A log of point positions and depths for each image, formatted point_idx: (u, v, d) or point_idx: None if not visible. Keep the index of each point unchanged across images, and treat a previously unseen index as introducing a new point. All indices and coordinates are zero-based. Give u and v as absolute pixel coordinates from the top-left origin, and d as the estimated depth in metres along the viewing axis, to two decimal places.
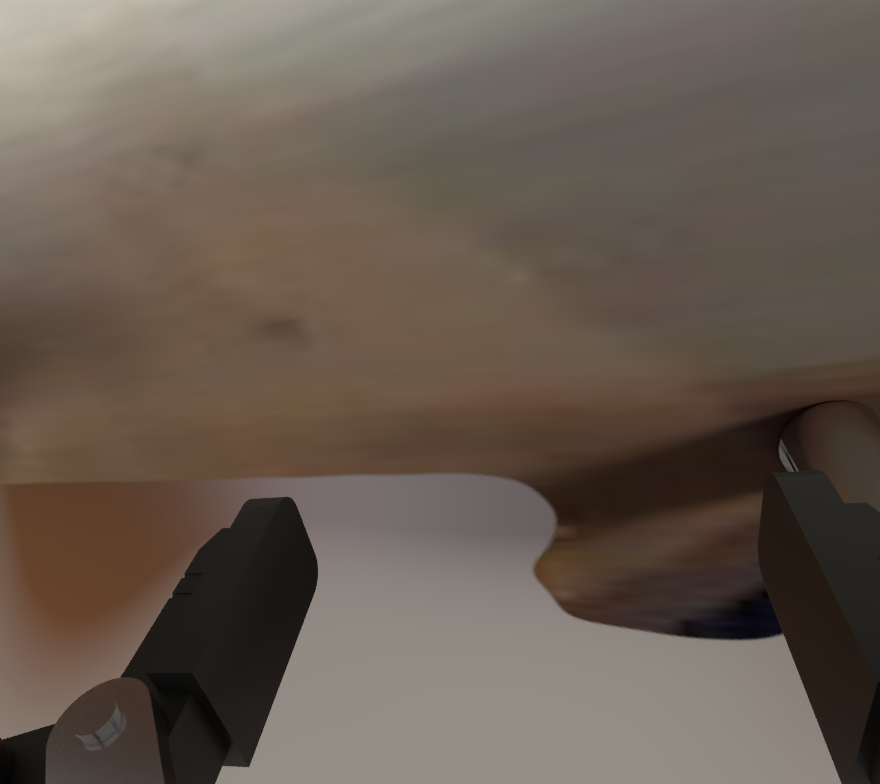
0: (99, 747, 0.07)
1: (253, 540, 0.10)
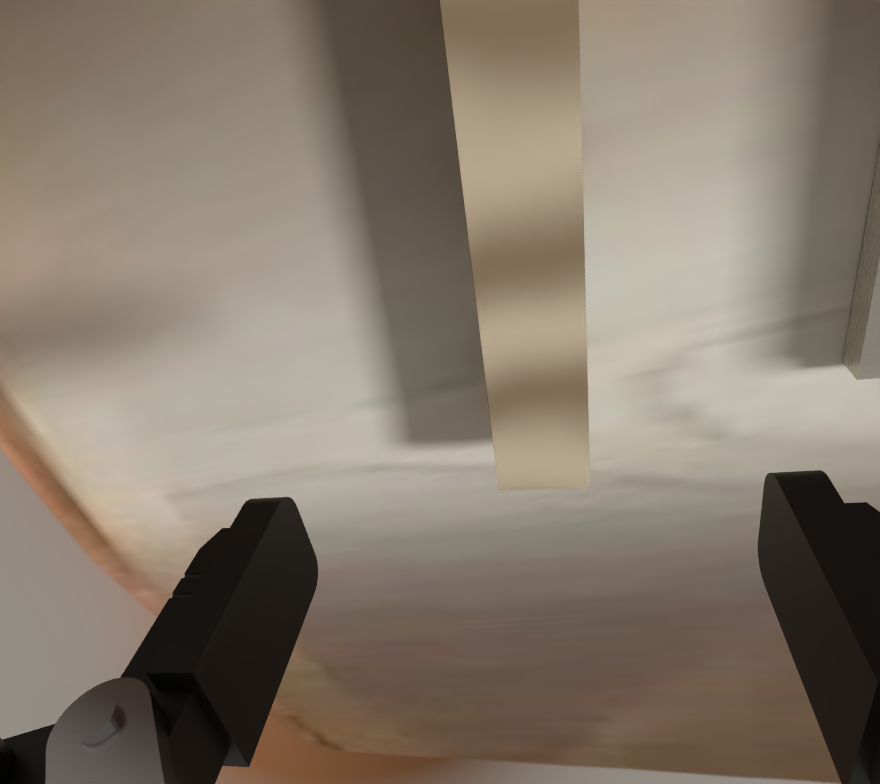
0: (99, 747, 0.07)
1: (253, 540, 0.10)
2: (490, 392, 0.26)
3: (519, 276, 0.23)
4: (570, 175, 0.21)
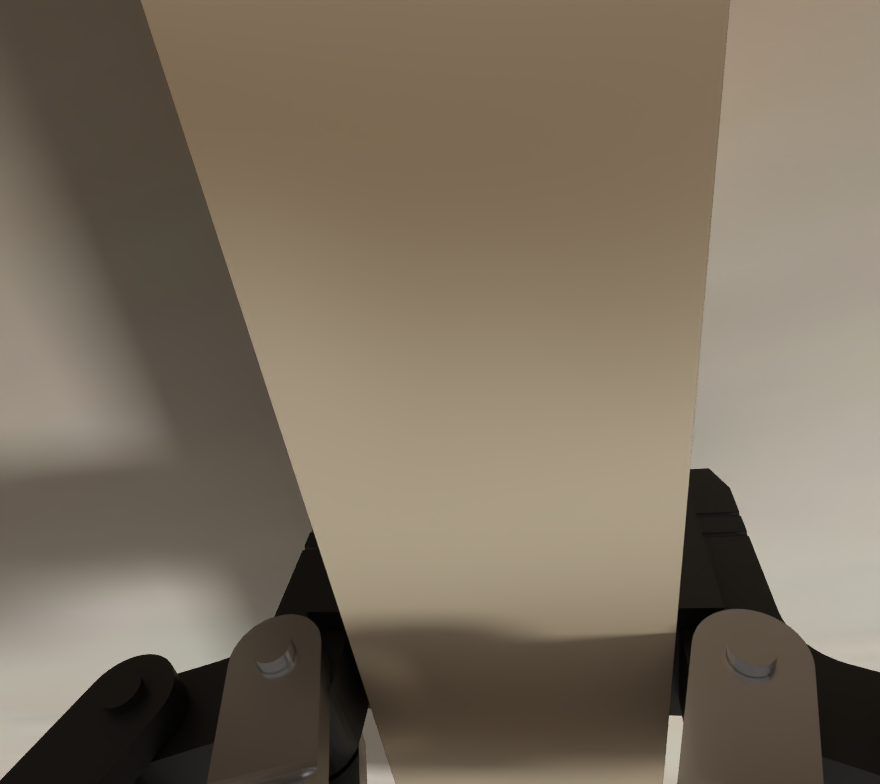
0: (282, 675, 0.08)
1: None
2: None
3: (491, 734, 0.09)
4: (644, 564, 0.07)
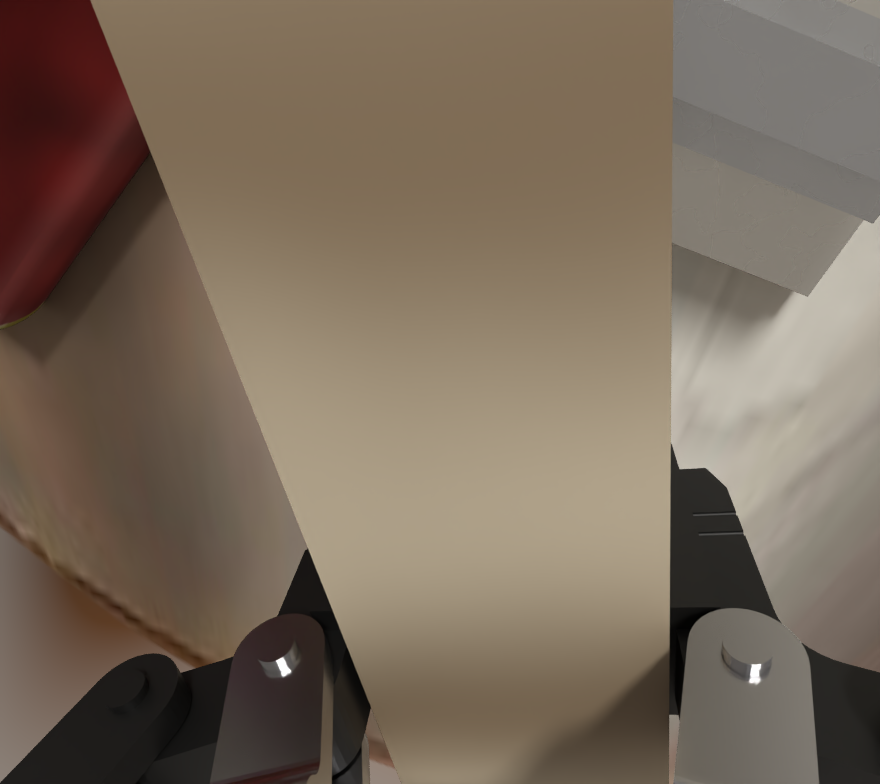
0: (286, 674, 0.08)
1: None
2: None
3: (494, 735, 0.09)
4: (632, 561, 0.07)
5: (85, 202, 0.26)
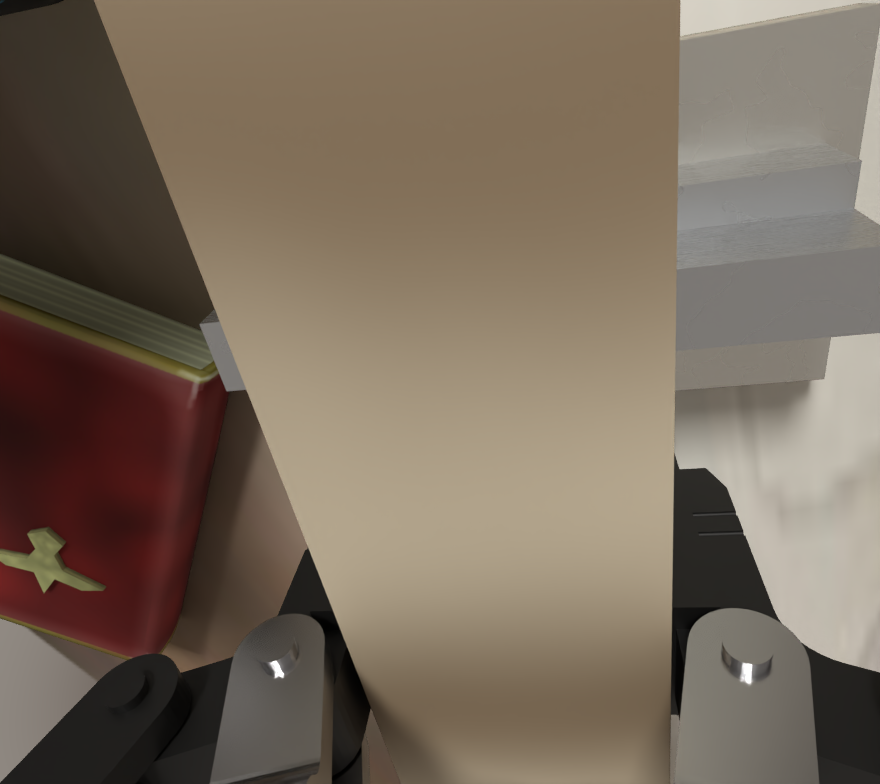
0: (286, 674, 0.08)
1: None
2: None
3: (494, 736, 0.09)
4: (635, 561, 0.07)
5: (174, 563, 0.31)
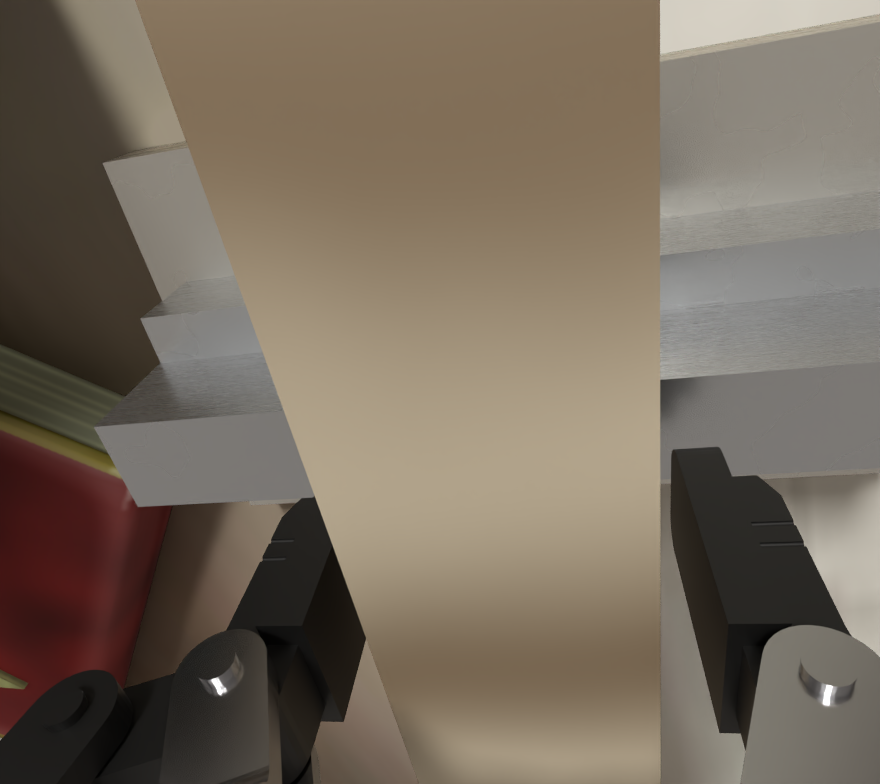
0: (224, 691, 0.08)
1: None
2: None
3: (494, 694, 0.09)
4: (626, 518, 0.07)
5: (108, 663, 0.27)
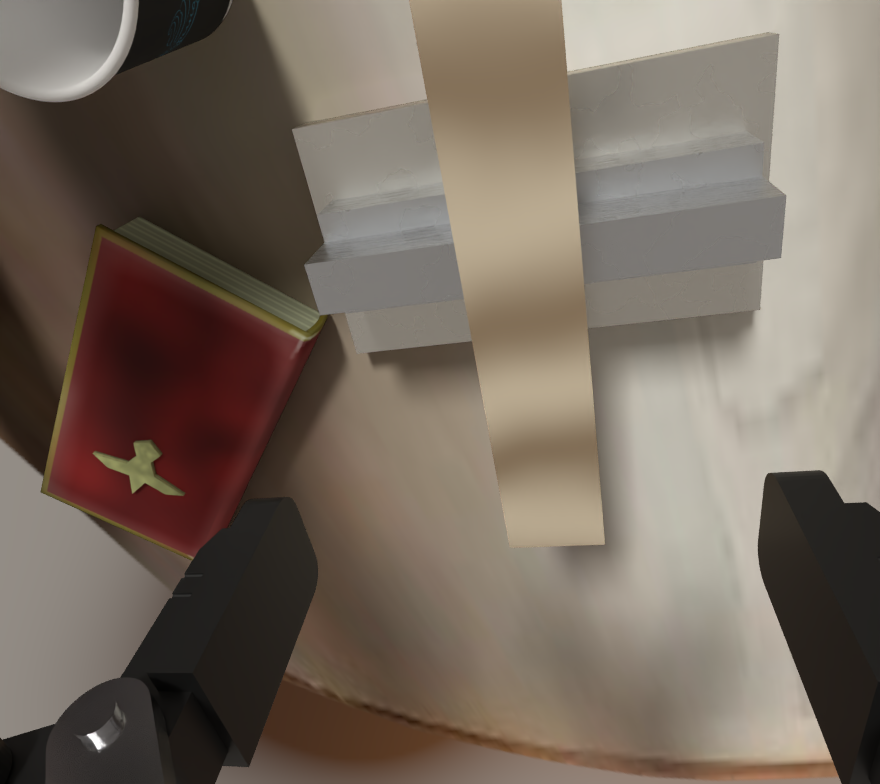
0: (99, 747, 0.07)
1: (253, 540, 0.10)
2: (496, 452, 0.25)
3: (519, 338, 0.22)
4: (568, 236, 0.20)
5: (244, 479, 0.40)
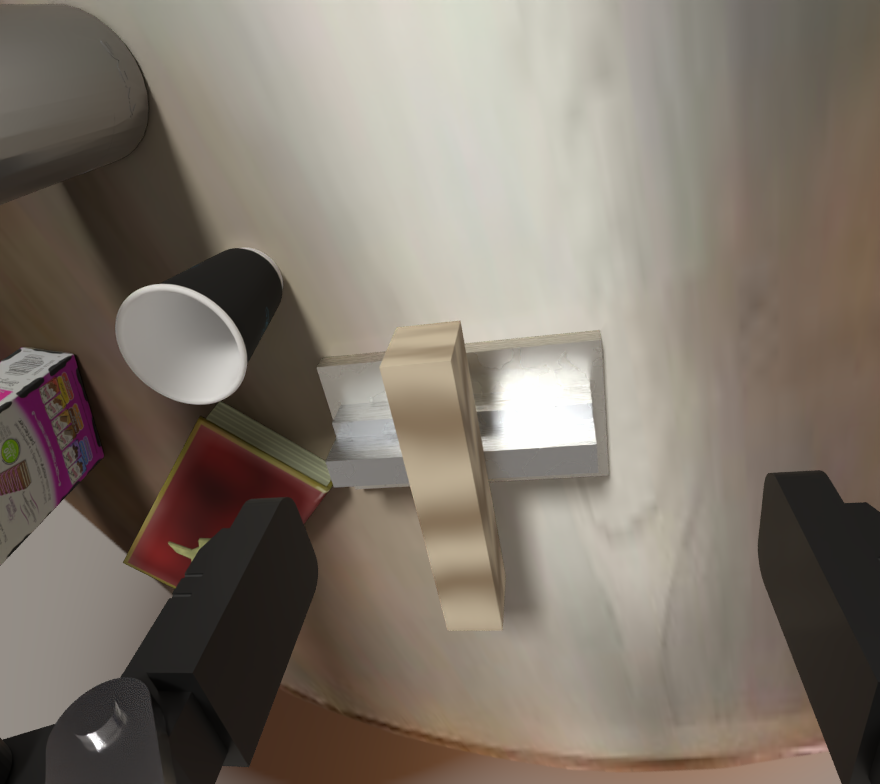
0: (99, 747, 0.07)
1: (253, 540, 0.10)
2: (436, 581, 0.43)
3: (446, 527, 0.40)
4: (468, 485, 0.38)
5: None
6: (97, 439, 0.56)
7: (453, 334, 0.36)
